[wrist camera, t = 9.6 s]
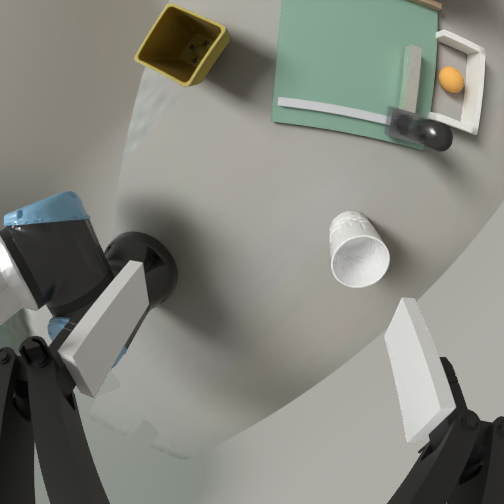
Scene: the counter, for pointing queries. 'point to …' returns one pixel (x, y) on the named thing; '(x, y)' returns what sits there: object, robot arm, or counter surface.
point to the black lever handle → (405, 119)
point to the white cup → (357, 251)
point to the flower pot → (182, 45)
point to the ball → (451, 79)
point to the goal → (466, 83)
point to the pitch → (351, 62)
